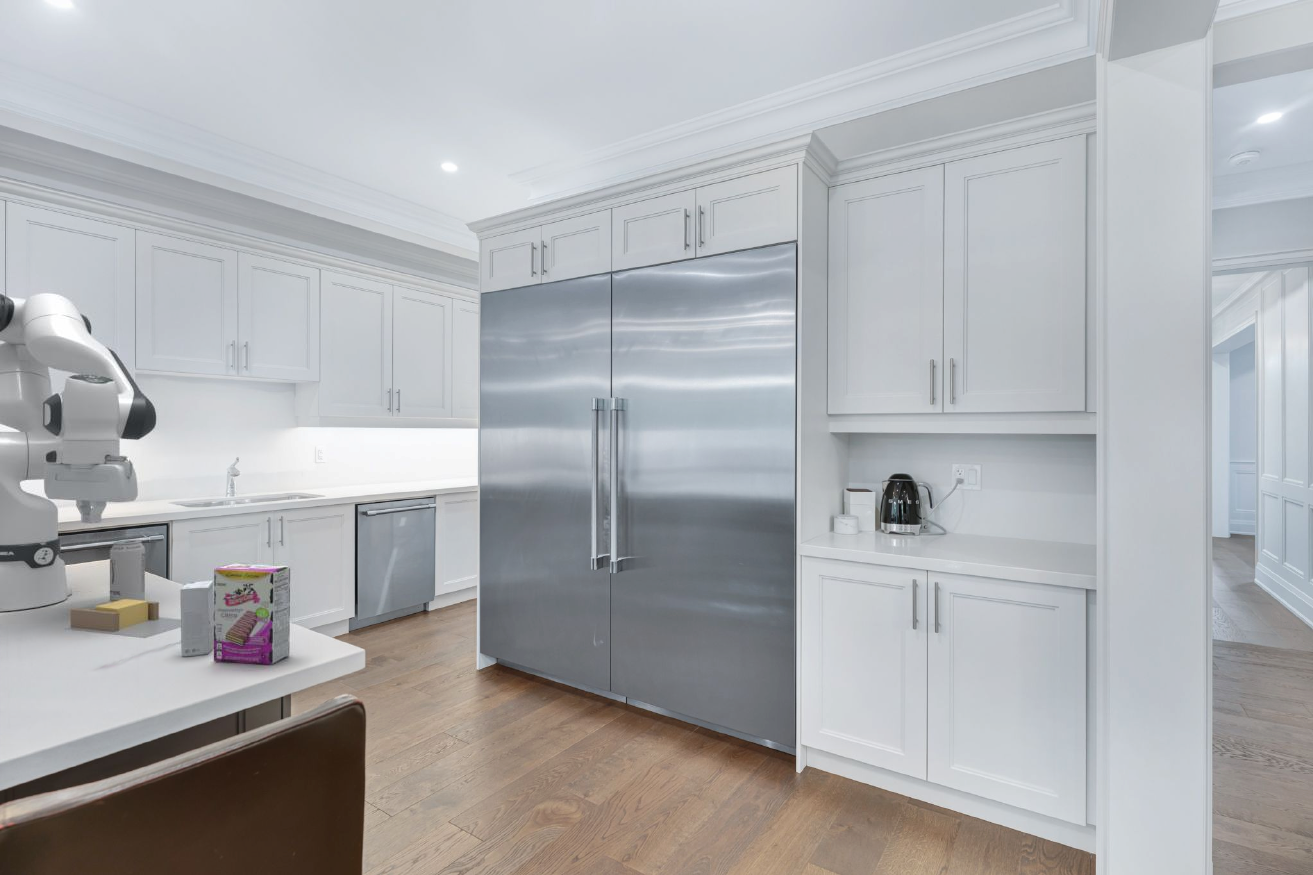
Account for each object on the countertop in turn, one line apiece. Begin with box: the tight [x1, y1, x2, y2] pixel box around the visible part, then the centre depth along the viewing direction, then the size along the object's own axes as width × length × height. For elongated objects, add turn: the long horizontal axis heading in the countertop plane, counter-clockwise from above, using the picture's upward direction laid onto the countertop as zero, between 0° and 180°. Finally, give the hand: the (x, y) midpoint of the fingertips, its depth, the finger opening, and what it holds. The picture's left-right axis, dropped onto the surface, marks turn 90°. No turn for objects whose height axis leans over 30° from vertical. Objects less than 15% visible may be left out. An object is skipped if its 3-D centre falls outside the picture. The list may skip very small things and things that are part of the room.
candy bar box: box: [213, 563, 291, 665], centre depth 114 cm, size 11×5×16 cm, turn 84°
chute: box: [65, 598, 181, 639], centre depth 130 cm, size 20×11×4 cm, turn 76°
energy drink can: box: [109, 539, 146, 603], centre depth 144 cm, size 6×6×15 cm
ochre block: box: [93, 599, 148, 629], centre depth 130 cm, size 6×6×4 cm
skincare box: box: [180, 580, 214, 657], centre depth 118 cm, size 6×4×12 cm
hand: (91, 522), depth 132 cm, fingers closed
